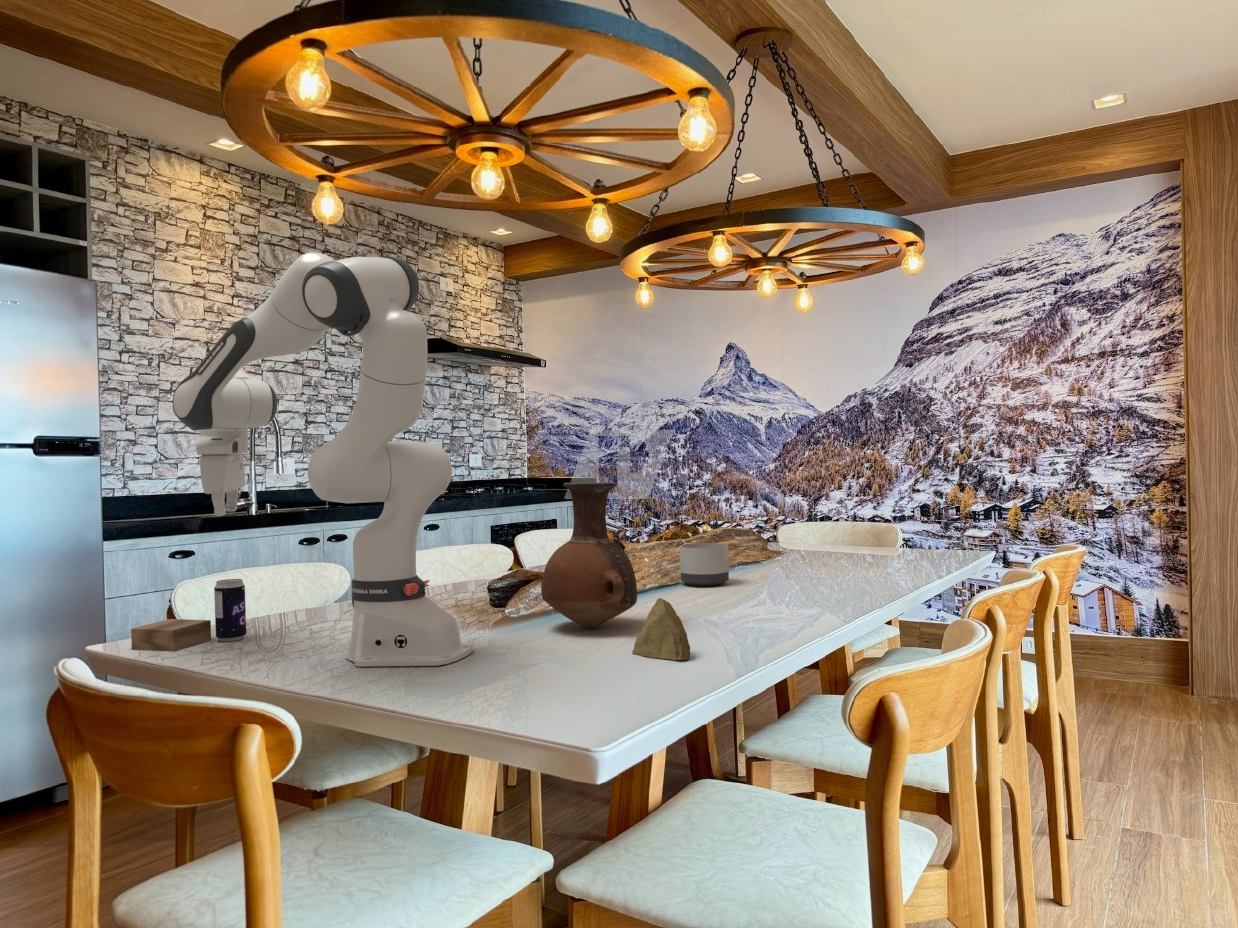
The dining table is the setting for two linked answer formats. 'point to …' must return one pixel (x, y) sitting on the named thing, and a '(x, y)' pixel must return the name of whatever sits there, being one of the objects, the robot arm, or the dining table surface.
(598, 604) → the vase
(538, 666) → the dining table surface
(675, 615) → the rock
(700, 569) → the planter
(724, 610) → the dining table surface
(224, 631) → the beverage can
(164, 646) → the walnut block
